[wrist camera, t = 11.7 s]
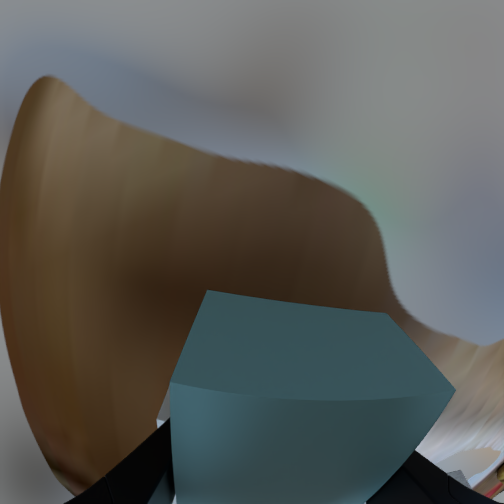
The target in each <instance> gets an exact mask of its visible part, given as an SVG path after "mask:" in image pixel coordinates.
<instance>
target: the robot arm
mask: <svg viewBox="0 0 504 504" xmlns="http://www.w3.org/2000/svg"><path fill="white" fill-rule="evenodd" d="M174 497H175V484H174V473H173V460H172V445H171V423H170V417H169V418H168V419H167V420H166V421H165V422H164V423H163V424H162V425H161V426H160V427H159V428H158V429H157V430H156V431H154V432H153V433H152V434H151V435H150V436H149V437H148V438H147V439H146V440H145V441H144V442H142V443H141V444H140V445H139V446H138V447H137V448H136V449H135V450H134V451H132V452H131V453H130V454H129V455H128V456H127V457H126V458H125V459H123V460H122V461H121V462H120V463H119V464H118V465H116V466H115V467H114V468H113V469H112V470H111V471H109V472H108V473H107V474H106V475H105V477H102V478H101V479H100V480H98V481H97V482H96V483H95V484H93V485H92V486H91V487H89V488H88V489H87V490H85V491H84V492H83V493H81V494H79V495H78V496H76V497H74V498H73V499H71V500H69V501H67V502H66V503H64V504H172V503H173V500H174ZM366 504H504V503H499V502H496V501H494V500H492V499H490V498H488V497H486V496H484V495H482V494H480V493H478V492H476V491H474V490H472V489H470V488H468V487H466V486H465V485H463V484H462V483H460V482H459V481H457V480H456V479H454V478H453V477H451V476H450V475H448V474H447V473H445V472H444V471H443V470H441V469H440V468H438V467H437V466H435V465H434V464H433V463H432V462H430V461H429V460H428V459H426V458H425V457H424V456H422V455H421V454H420V453H418V452H417V451H416V450H414V451H413V452H412V454H411V455H410V456H409V457H408V458H407V460H406V461H405V462H404V463H403V464H402V465H401V466H400V468H399V469H398V470H397V471H396V472H395V473H394V474H393V475H392V476H391V477H390V478H389V479H388V481H387V482H386V483H385V484H384V485H383V486H382V487H381V488H380V489H379V490H378V491H377V492H376V493H375V494H373V495H372V496H371V497H370V498H369V499H368V500H367V501H366Z"/></svg>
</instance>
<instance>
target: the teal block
mask: <svg viewBox="0 0 504 504" xmlns="http://www.w3.org/2000/svg"><path fill="white" fill-rule="evenodd" d="M455 391H456V389H455V388H454V387H453V386H452V385H451V383H450V382H449V381H448V380H447V379H446V378H445V377H444V375H443V374H442V373H441V372H440V371H439V370H438V369H437V367H436V366H435V365H434V364H433V363H432V362H431V361H430V360H429V358H428V357H427V356H426V355H425V354H424V353H423V352H422V351H421V350H420V348H419V347H418V346H417V345H416V344H415V343H414V342H413V341H412V340H411V339H410V338H409V337H408V335H407V334H406V333H405V332H404V331H403V330H402V329H401V328H400V327H399V326H398V325H397V324H396V323H395V322H394V321H393V320H392V319H391V318H390V316H389V315H388V314H387V313H379V312H369V311H359V310H349V309H340V308H331V307H323V306H314V305H306V304H299V303H291V302H284V301H276V300H269V299H262V298H256V297H249V296H242V295H236V294H230V293H224V292H218V291H212V290H207V292H206V294H205V297H204V299H203V301H202V304H201V306H200V308H199V311H198V313H197V316H196V318H195V321H194V323H193V325H192V328H191V330H190V333H189V335H188V338H187V340H186V342H185V345H184V347H183V350H182V352H181V355H180V357H179V360H178V362H177V365H176V367H175V370H174V372H173V375H172V377H171V380H170V423H171V445H172V460H173V473H174V484H175V494H176V502H177V504H364V503H365V502H366V501H367V500H368V499H369V498H370V497H371V496H372V495H373V494H375V493H376V492H377V491H378V490H379V489H380V488H381V487H382V486H383V485H384V484H385V483H386V482H387V481H388V479H389V478H390V477H391V476H392V475H393V474H394V473H395V472H396V471H397V470H398V469H399V468H400V466H401V465H402V464H403V463H404V462H405V461H406V460H407V458H408V457H409V456H410V455H411V454H412V452H413V451H414V450H415V449H416V447H417V446H418V445H419V444H420V442H421V441H422V440H423V439H424V437H425V436H426V435H427V433H428V432H429V430H430V429H431V428H432V426H433V425H434V423H435V422H436V421H437V419H438V418H439V416H440V415H441V413H442V412H443V410H444V409H445V407H446V406H447V404H448V402H449V401H450V399H451V398H452V396H453V394H454V393H455Z"/></svg>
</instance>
